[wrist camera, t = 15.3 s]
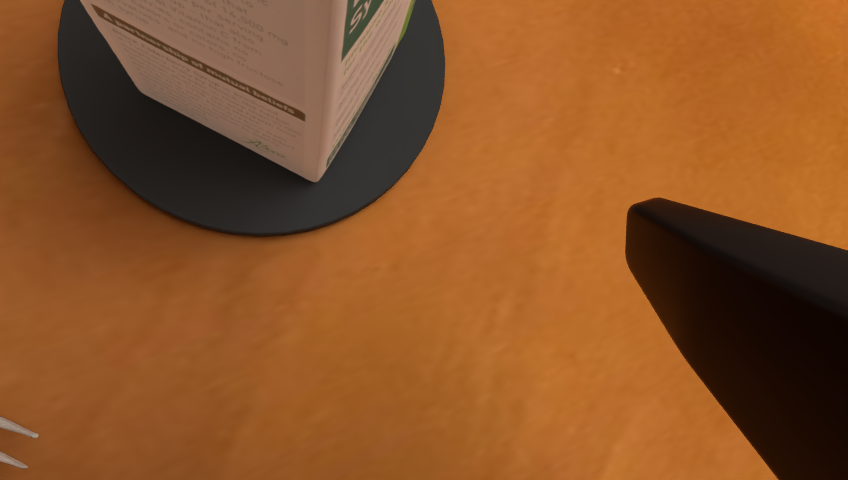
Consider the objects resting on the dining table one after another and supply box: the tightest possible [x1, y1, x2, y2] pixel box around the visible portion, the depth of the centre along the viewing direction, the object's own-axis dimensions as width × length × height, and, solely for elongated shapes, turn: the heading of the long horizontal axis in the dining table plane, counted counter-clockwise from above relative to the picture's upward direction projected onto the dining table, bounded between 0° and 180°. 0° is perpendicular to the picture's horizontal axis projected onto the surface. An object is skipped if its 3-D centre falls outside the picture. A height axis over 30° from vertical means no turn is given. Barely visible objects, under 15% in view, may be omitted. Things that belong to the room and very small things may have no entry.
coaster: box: [58, 0, 445, 236], centre depth 19 cm, size 11×11×1 cm
